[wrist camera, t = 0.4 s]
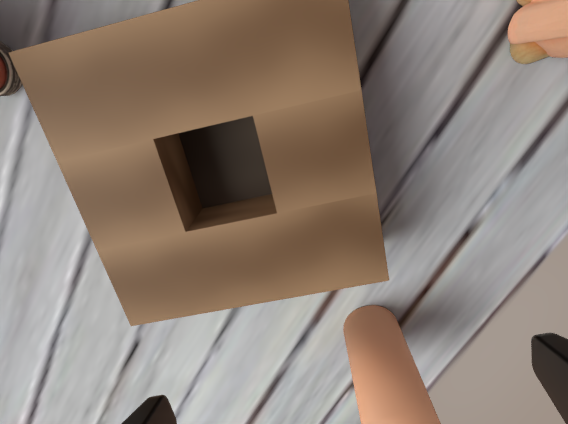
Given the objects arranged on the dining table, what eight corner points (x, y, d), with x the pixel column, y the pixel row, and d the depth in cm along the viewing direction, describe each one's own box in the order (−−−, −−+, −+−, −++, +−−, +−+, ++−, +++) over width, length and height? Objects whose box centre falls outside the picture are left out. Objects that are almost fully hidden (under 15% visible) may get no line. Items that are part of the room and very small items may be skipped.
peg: (400, 345, 24) (448, 463, 17) (348, 353, 25) (371, 473, 17) (394, 300, 23) (442, 407, 16) (339, 310, 23) (359, 418, 16)
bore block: (373, 245, 22) (389, 280, 18) (157, 286, 23) (130, 326, 19) (332, -13, 17) (342, -40, 13) (66, 58, 19) (8, 52, 15)
